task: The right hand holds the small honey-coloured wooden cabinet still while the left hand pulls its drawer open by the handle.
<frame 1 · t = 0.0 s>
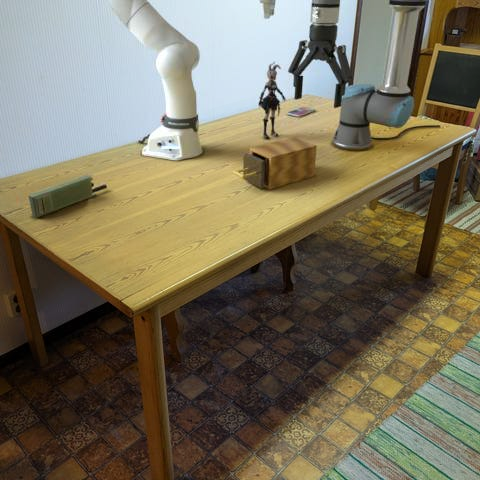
left hand: (268, 16, 163), 48 cm above the table, tool pointing down, fingers open, 8 cm apart
right hand: (317, 102, 147), 28 cm above the table, tool pointing down, fingers open, 13 cm apart
drawer: (267, 166, 165), point 5 cm above the table, slide at 1.9 cm
smartphone: (301, 113, 241), on the table
figurine: (269, 136, 209), on the table
handheld radio: (72, 203, 151), on the table
cabinet: (282, 177, 171), on the table
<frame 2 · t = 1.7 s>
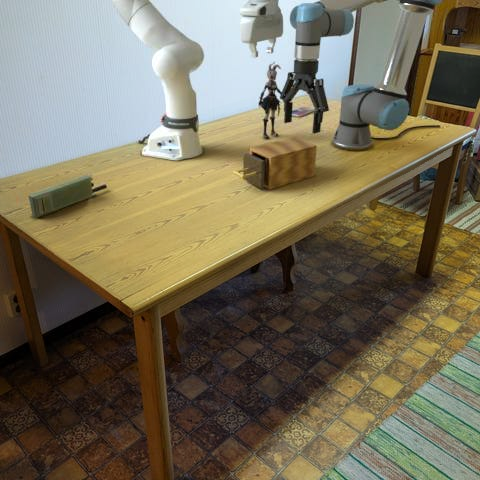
left hand: (262, 55, 161), 38 cm above the table, tool pointing down, fingers open, 8 cm apart
right hand: (301, 127, 165), 16 cm above the table, tool pointing down, fingers open, 13 cm apart
nothing on the table moved.
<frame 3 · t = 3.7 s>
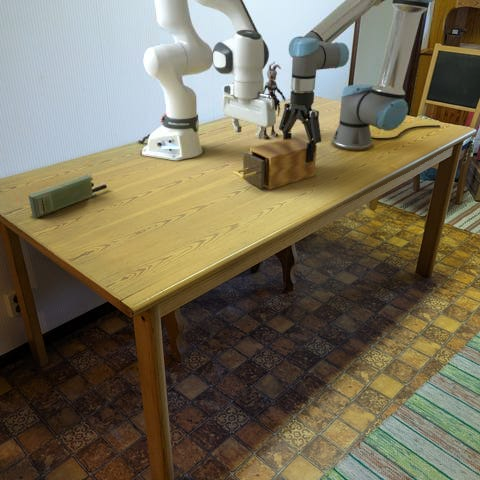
left hand: (248, 135, 157), 17 cm above the table, tool pointing down, fingers open, 8 cm apart
right hand: (297, 156, 171), 6 cm above the table, tool pointing down, fingers closed on cabinet, 11 cm apart
cabinet: (282, 177, 171), on the table, touching right hand
everything else where it was.
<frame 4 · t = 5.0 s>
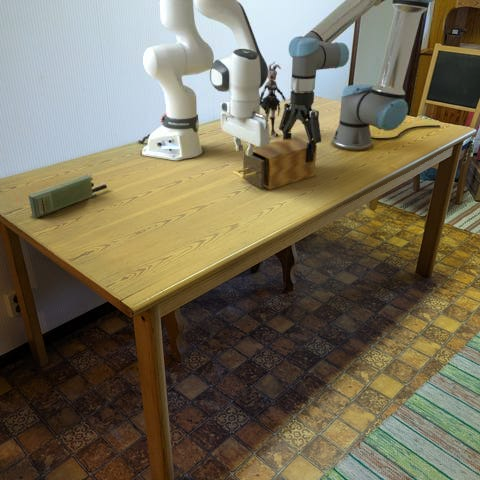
left hand: (244, 152, 156), 12 cm above the table, tool pointing down, fingers open, 3 cm apart
right hand: (297, 156, 171), 6 cm above the table, tool pointing down, fingers closed on cabinet, 11 cm apart
cabinet: (282, 177, 171), on the table, touching right hand
everything else where it was.
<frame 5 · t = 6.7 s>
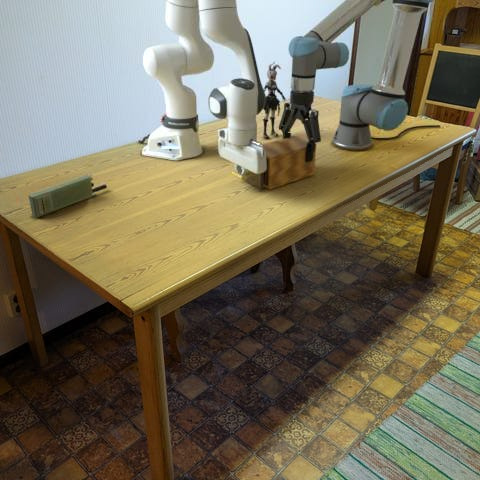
left hand: (241, 178, 160), 4 cm above the table, tool pointing down, fingers closed, pressing on drawer
right hand: (297, 156, 171), 6 cm above the table, tool pointing down, fingers closed on cabinet, 11 cm apart
drawer: (266, 166, 164), point 5 cm above the table, slide at 2.1 cm, touching left hand
cabinet: (282, 176, 171), on the table, touching right hand
everything else where it was.
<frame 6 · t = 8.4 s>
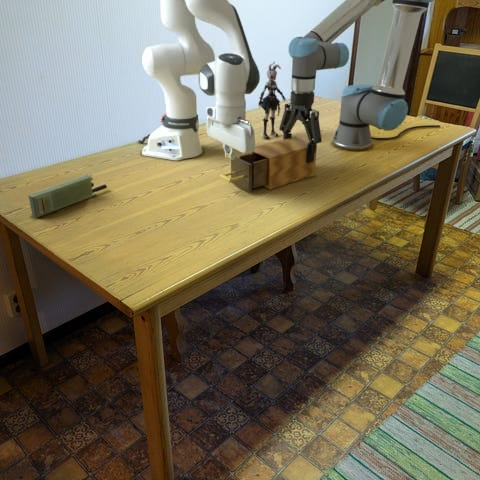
left hand: (230, 158, 154), 11 cm above the table, tool pointing down, fingers closed
right hand: (298, 157, 171), 6 cm above the table, tool pointing down, fingers closed on cabinet, 11 cm apart
drawer: (255, 169, 162), point 5 cm above the table, slide at 6.9 cm
cabinet: (282, 177, 171), on the table, touching right hand
everything else where it was.
when the right hand's fingers open (6 cm above the table, at t = 9.4 s): cabinet stays where it is, on the table.
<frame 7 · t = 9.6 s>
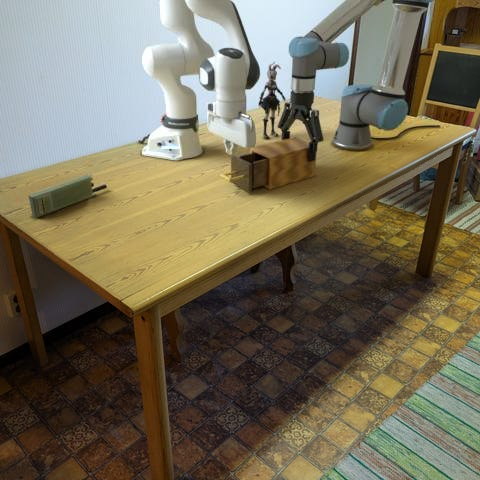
left hand: (231, 154, 153), 13 cm above the table, tool pointing down, fingers closed
right hand: (298, 155, 171), 6 cm above the table, tool pointing down, fingers open, 12 cm apart
cabinet: (282, 177, 171), on the table
everything else where it was.
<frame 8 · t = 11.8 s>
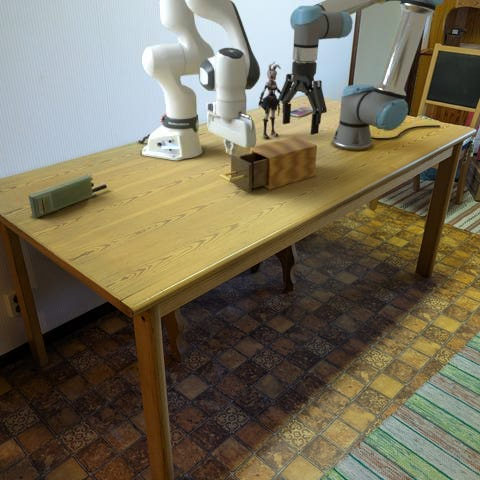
left hand: (231, 154, 153), 13 cm above the table, tool pointing down, fingers closed
right hand: (299, 128, 166), 16 cm above the table, tool pointing down, fingers open, 13 cm apart
nothing on the table moved.
at the end: drawer slide at 6.9 cm; cabinet tilted 0°; cabinet never tilted more than 3° during the clip; cabinet moved 0.2 cm from its start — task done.
